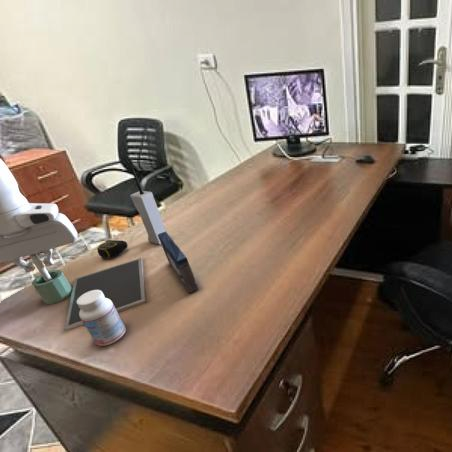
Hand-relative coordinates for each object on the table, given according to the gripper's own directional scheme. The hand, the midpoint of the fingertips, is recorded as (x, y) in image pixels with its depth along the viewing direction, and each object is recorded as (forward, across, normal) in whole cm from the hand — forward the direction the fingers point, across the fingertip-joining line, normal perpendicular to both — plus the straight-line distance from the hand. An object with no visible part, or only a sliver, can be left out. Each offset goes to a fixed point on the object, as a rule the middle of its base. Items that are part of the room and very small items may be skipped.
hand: (40, 267), depth 87 cm
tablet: (+9, +12, -6) cm, 16 cm away
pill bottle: (+9, +13, -25) cm, 30 cm away
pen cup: (+9, 0, 0) cm, 9 cm away
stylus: (+9, 0, 0) cm, 9 cm away
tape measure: (+9, +13, +15) cm, 22 cm away
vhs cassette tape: (+9, +30, -11) cm, 33 cm away
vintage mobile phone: (+9, +26, +14) cm, 31 cm away
